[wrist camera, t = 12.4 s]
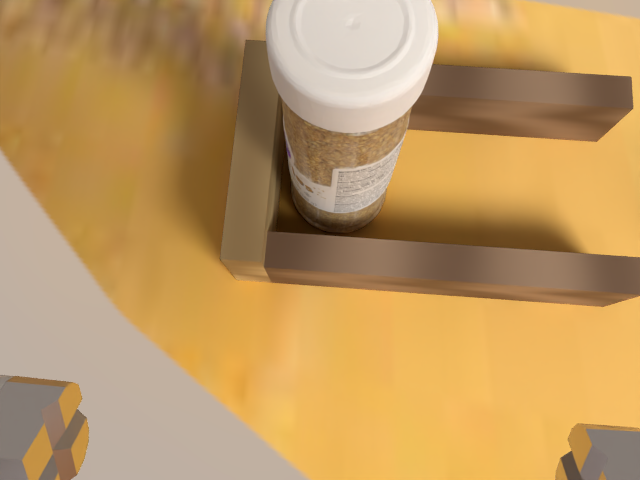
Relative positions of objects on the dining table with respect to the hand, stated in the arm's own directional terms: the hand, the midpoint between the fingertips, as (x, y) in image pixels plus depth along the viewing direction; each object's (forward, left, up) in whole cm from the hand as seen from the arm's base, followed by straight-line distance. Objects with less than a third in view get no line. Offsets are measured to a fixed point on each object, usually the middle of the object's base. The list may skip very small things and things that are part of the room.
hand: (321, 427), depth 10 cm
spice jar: (-5, -9, -17) cm, 19 cm away
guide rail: (-8, -7, -16) cm, 20 cm away
